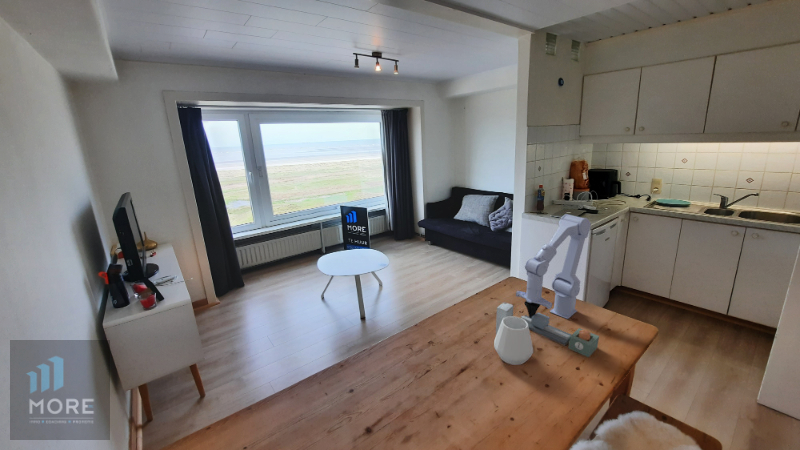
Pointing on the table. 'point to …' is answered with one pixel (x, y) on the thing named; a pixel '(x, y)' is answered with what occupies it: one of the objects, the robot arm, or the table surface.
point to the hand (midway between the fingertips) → (531, 317)
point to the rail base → (549, 332)
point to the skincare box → (503, 313)
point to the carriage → (540, 320)
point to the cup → (513, 341)
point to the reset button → (584, 335)
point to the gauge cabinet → (583, 343)
